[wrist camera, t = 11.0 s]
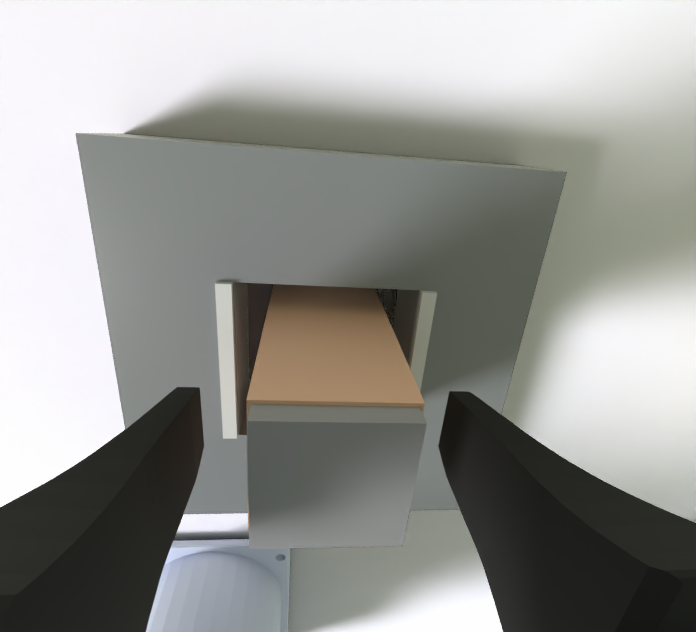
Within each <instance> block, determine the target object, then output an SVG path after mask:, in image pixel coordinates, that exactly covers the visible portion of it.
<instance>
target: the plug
mask: <svg viewBox="0 0 696 632" xmlns="http://www.w3.org/2000/svg"><path fill="white" fill-rule="evenodd" d="M424 406H425V402H424V400H423V398H422V395H421V393H420V391H419V388H418V386H417V384H416V381H415V379H414V377H413V375H412V372H411V370H410V368H409V365H408V363H407V361H406V358H405V356H404V354H403V351H402V349H401V347H400V344H399V342H398V340H397V338H396V335H395V333H394V331H393V328H392V326H391V324H390V321H389V319H388V317H387V314H386V312H385V310H384V307H383V305H382V303H381V301H380V298H379V296H378V294H377V291H376V289H375V288H353V287H331V286H308V285H285V284H274V285H273V289H272V293H271V298H270V302H269V306H268V310H267V315H266V319H265V323H264V327H263V332H262V336H261V340H260V344H259V348H258V353H257V357H256V361H255V365H254V370H253V374H252V378H251V382H250V387H249V391H248V395H247V399H246V408H247V479H248V531H249V549H288V548H338V547H388V546H403V543H404V538H405V532H406V527H407V522H408V517H409V512H410V507H411V502H412V497H413V492H414V487H415V482H416V476H417V471H418V466H419V461H420V456H421V451H422V446H423V441H424V436H425V431H426V426H427V423H426V420H425V418H424V415H423V411H424Z"/></svg>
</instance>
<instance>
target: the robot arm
mask: <svg viewBox="0 0 696 632" xmlns="http://www.w3.org/2000/svg"><path fill="white" fill-rule="evenodd" d="M438 447H439V451H440V455H441V459H442V463H443V466H444V470H445V473H446V477H447V479H448V482H449V484H450V487H451V489H452V492H453V494H454V496H455V499H456V501H457V503H458V506H459V508H460V510H461V513H462V515H463V518H464V520H465V522H466V525H467V527H468V529H469V532H470V534H471V536H472V539H473V541H474V543H475V546H476V548H477V551H478V553H479V556H480V558H481V561H482V564H483V567H484V570H485V573H486V576H487V579H488V582H489V586H490V589H491V592H492V595H493V598H494V601H495V605H496V608H497V612H498V615H499V618H500V622H501V625H502V629H503V632H696V523H694V522H692V521H689V520H687V519H684V518H682V517H680V516H677V515H675V514H672V513H670V512H668V511H665V510H663V509H660V508H658V507H656V506H654V505H652V504H649V503H647V502H645V501H643V500H640V499H638V498H636V497H634V496H632V495H630V494H628V493H626V492H624V491H622V490H620V489H618V488H616V487H614V486H612V485H610V484H608V483H606V482H604V481H602V480H600V479H598V478H597V477H595V476H593V475H591V474H590V473H588V472H586V471H584V470H583V469H581V468H579V467H577V466H576V465H574V464H572V463H570V462H569V461H567V460H566V459H564V458H562V457H561V456H559V455H558V454H556V453H554V452H553V451H551V450H550V449H548V448H547V447H545V446H544V445H542V444H541V443H539V442H538V441H537V440H535V439H534V438H532V437H531V436H529V435H528V434H527V433H525V432H524V431H522V430H521V429H520V428H518V427H517V426H516V425H514V424H513V423H511V422H510V421H509V420H507V419H506V418H505V417H503V416H502V415H501V414H500V413H498V412H497V411H496V410H494V409H493V408H492V407H490V406H489V405H488V404H486V403H485V402H484V401H482V400H481V399H479V398H478V397H477V396H475V395H474V394H472V393H471V392H469V391H449V395H448V400H447V405H446V410H445V415H444V420H443V425H442V430H441V435H440V440H439V444H438ZM203 449H204V437H203V423H202V410H201V397H200V387H177V388H175V389H174V390H173V391H172V392H170V393H169V394H168V395H167V396H166V397H164V398H163V399H162V400H161V401H160V402H158V403H157V404H156V405H155V406H154V407H152V408H151V409H150V410H149V411H148V412H146V413H145V414H144V415H143V416H142V417H140V418H139V419H138V420H137V421H135V422H134V423H133V424H132V425H131V426H129V427H128V428H127V429H125V430H124V431H123V432H121V433H120V434H119V435H117V436H116V437H115V438H113V439H112V440H111V441H109V442H108V443H106V444H105V445H104V446H102V447H101V448H100V449H98V450H97V451H96V452H94V453H93V454H91V455H90V456H88V457H87V458H85V459H84V460H82V461H81V462H79V463H78V464H76V465H75V466H73V467H71V468H70V469H68V470H67V471H65V472H63V473H62V474H60V475H58V476H57V477H55V478H54V479H52V480H50V481H48V482H47V483H45V484H43V485H41V486H39V487H38V488H36V489H34V490H32V491H30V492H28V493H26V494H25V495H23V496H21V497H19V498H17V499H15V500H14V501H12V502H10V503H8V504H6V505H4V506H2V507H0V632H288V613H289V582H290V550H291V548H288V549H249V539H225V540H183V541H173V540H174V538H175V535H176V532H177V530H178V527H179V524H180V522H181V519H182V516H183V514H184V511H185V509H186V506H187V503H188V501H189V498H190V495H191V492H192V490H193V487H194V484H195V481H196V478H197V474H198V470H199V466H200V462H201V458H202V453H203Z"/></svg>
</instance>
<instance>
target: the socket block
mask: <svg viewBox="0 0 696 632" xmlns="http://www.w3.org/2000/svg"><path fill="white" fill-rule="evenodd" d="M76 138H77V144H78V150H79V156H80V162H81V168H82V174H83V180H84V186H85V192H86V198H87V204H88V210H89V216H90V222H91V228H92V234H93V240H94V246H95V252H96V258H97V263H98V269H99V275H100V281H101V287H102V293H103V299H104V305H105V311H106V317H107V323H108V329H109V335H110V341H111V347H112V353H113V359H114V365H115V371H116V377H117V383H118V389H119V395H120V401H121V407H122V412H123V418H124V424H125V429H127V428H128V427H129V426H131V425H132V424H133V423H134V422H135V421H137V420H138V419H139V418H140V417H142V416H143V415H144V414H145V413H146V412H148V411H149V410H150V409H151V408H152V407H154V406H155V405H156V404H157V403H158V402H160V401H161V400H162V399H163V398H164V397H166V396H167V395H168V394H169V393H170V392H172V391H173V390H174V389H175V388H177V387H200V397H201V410H202V423H203V437H204V449H203V453H202V458H201V462H200V466H199V470H198V474H197V478H196V481H195V484H194V487H193V490H192V492H191V495H190V498H189V501H188V503H187V506H186V509H185V511H184V514H222V513H248V479H247V408H246V399H247V395H248V391H249V387H250V380H249V330H248V283H262V284H285V285H308V286H331V287H353V288H376V289H398V291H397V299H396V306H395V314H394V321H393V331H394V333H395V335H396V338H397V340H398V342H399V344H400V347H401V349H402V351H403V354H404V356H405V358H406V361H407V363H408V365H409V368H410V370H411V372H412V375H413V377H414V379H415V381H416V384H417V386H418V388H419V391H420V393H421V395H422V398H423V400H424V402H425V406H424V411H423V415H424V418H425V420H426V423H427V426H426V431H425V436H424V441H423V446H422V451H421V456H420V461H419V466H418V471H417V476H416V482H415V487H414V492H413V497H412V502H411V507H410V510H460V508H459V506H458V503H457V501H456V499H455V496H454V494H453V492H452V489H451V487H450V484H449V482H448V479H447V477H446V473H445V470H444V466H443V463H442V459H441V455H440V451H439V447H438V444H439V440H440V435H441V430H442V425H443V420H444V415H445V410H446V405H447V400H448V395H449V391H469V392H471V393H472V394H474V395H475V396H477V397H478V398H479V399H481V400H482V401H484V402H485V403H486V404H488V405H489V406H490V407H492V408H493V409H494V410H496V411H497V412H498V413H500V414H501V413H502V409H503V406H504V402H505V398H506V395H507V391H508V387H509V384H510V380H511V376H512V373H513V369H514V365H515V361H516V358H517V354H518V350H519V347H520V343H521V339H522V336H523V332H524V328H525V325H526V321H527V317H528V313H529V310H530V306H531V302H532V299H533V295H534V291H535V288H536V284H537V280H538V277H539V273H540V269H541V265H542V262H543V258H544V254H545V251H546V247H547V243H548V240H549V236H550V232H551V229H552V225H553V221H554V217H555V214H556V210H557V206H558V203H559V199H560V195H561V192H562V188H563V184H564V181H565V177H566V173H567V172H562V171H555V170H548V169H541V168H534V167H527V166H520V165H507V164H495V163H483V162H470V161H458V160H445V159H433V158H420V157H408V156H395V155H383V154H370V153H358V152H345V151H333V150H320V149H308V148H295V147H283V146H270V145H258V144H246V143H233V142H221V141H208V140H196V139H183V138H171V137H158V136H146V135H133V134H109V133H76Z"/></svg>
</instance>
